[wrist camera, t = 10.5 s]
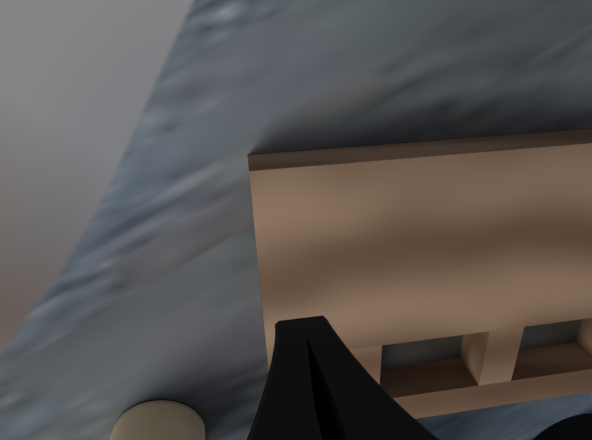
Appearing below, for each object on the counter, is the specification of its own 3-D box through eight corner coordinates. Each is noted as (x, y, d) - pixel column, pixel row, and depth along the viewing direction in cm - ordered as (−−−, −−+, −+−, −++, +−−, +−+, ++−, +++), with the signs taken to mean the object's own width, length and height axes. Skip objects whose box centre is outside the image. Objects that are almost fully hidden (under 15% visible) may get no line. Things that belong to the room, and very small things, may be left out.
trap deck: (669, 346, 28) (708, 374, 25) (271, 403, 25) (275, 440, 22) (776, 114, 21) (841, 122, 19) (247, 155, 18) (249, 171, 16)
